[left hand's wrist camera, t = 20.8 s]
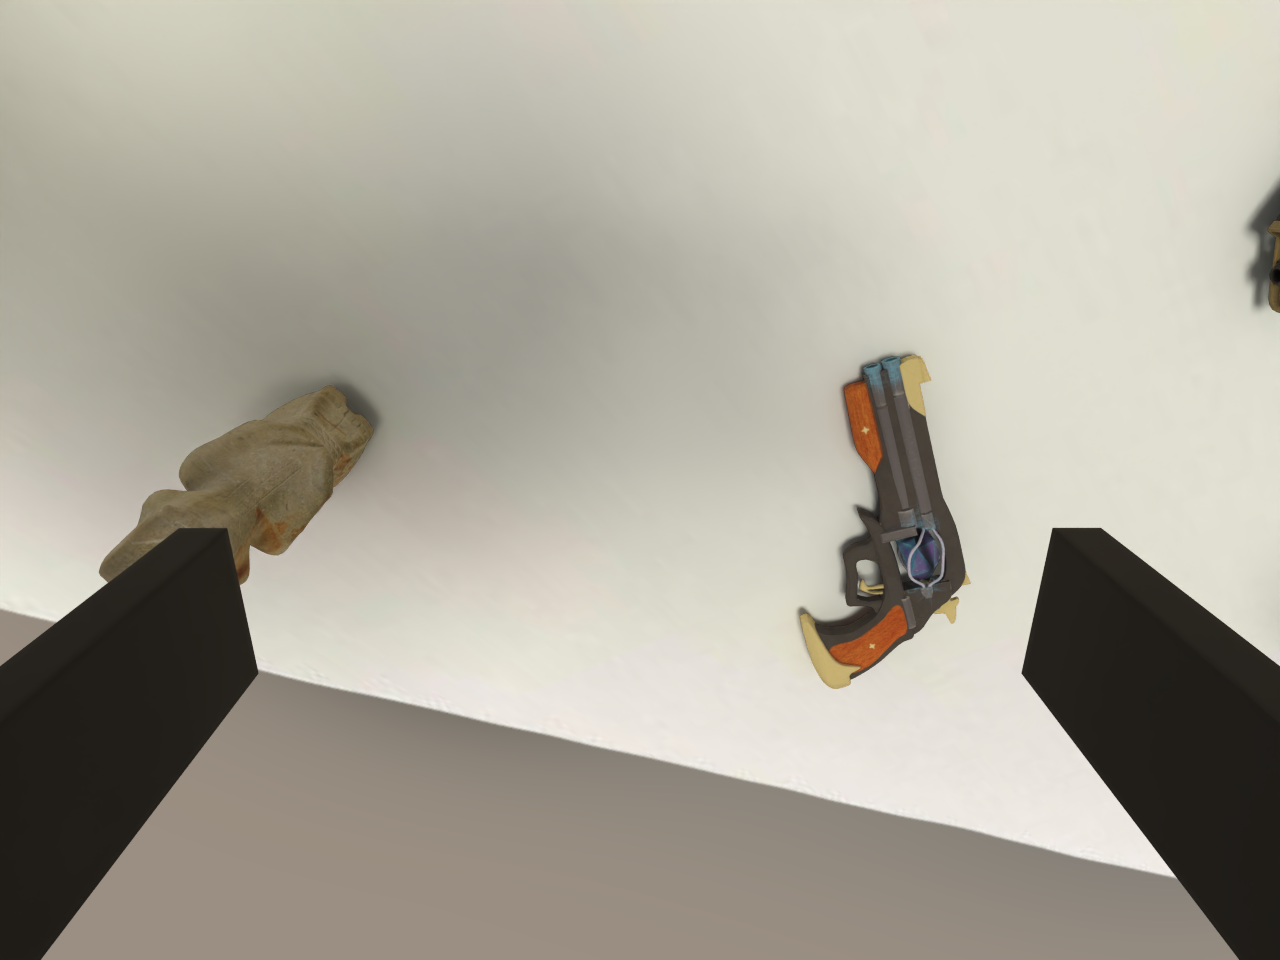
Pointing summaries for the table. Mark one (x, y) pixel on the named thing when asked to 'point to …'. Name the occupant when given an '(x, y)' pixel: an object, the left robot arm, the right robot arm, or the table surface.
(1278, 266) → the spray gun
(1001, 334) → the table surface
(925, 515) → the toy gun
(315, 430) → the sculpture
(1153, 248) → the table surface
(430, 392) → the table surface
